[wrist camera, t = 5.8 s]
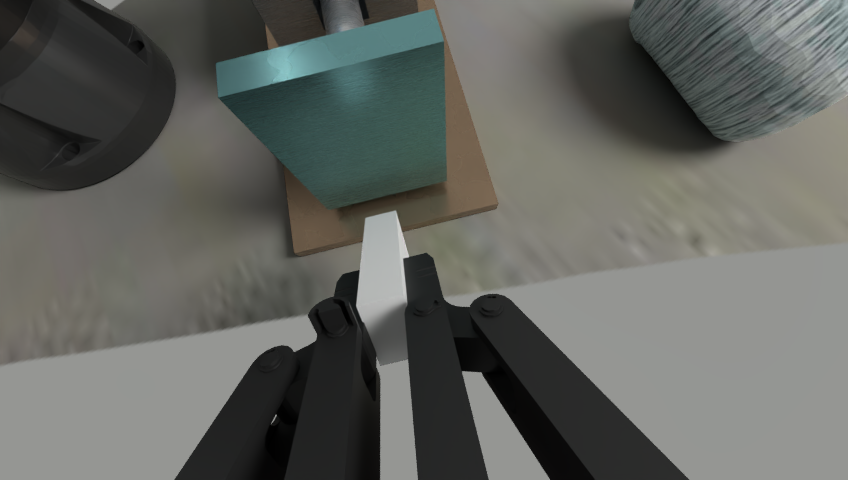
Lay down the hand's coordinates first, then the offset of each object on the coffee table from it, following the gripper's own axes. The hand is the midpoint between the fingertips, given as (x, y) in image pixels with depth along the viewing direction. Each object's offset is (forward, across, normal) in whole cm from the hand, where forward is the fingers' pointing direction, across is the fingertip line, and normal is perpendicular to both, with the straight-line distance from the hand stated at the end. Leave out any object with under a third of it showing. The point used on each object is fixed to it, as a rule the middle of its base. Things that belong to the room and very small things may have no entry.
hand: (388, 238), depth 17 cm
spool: (+11, +24, +1) cm, 26 cm away
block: (+11, 0, +5) cm, 12 cm away
